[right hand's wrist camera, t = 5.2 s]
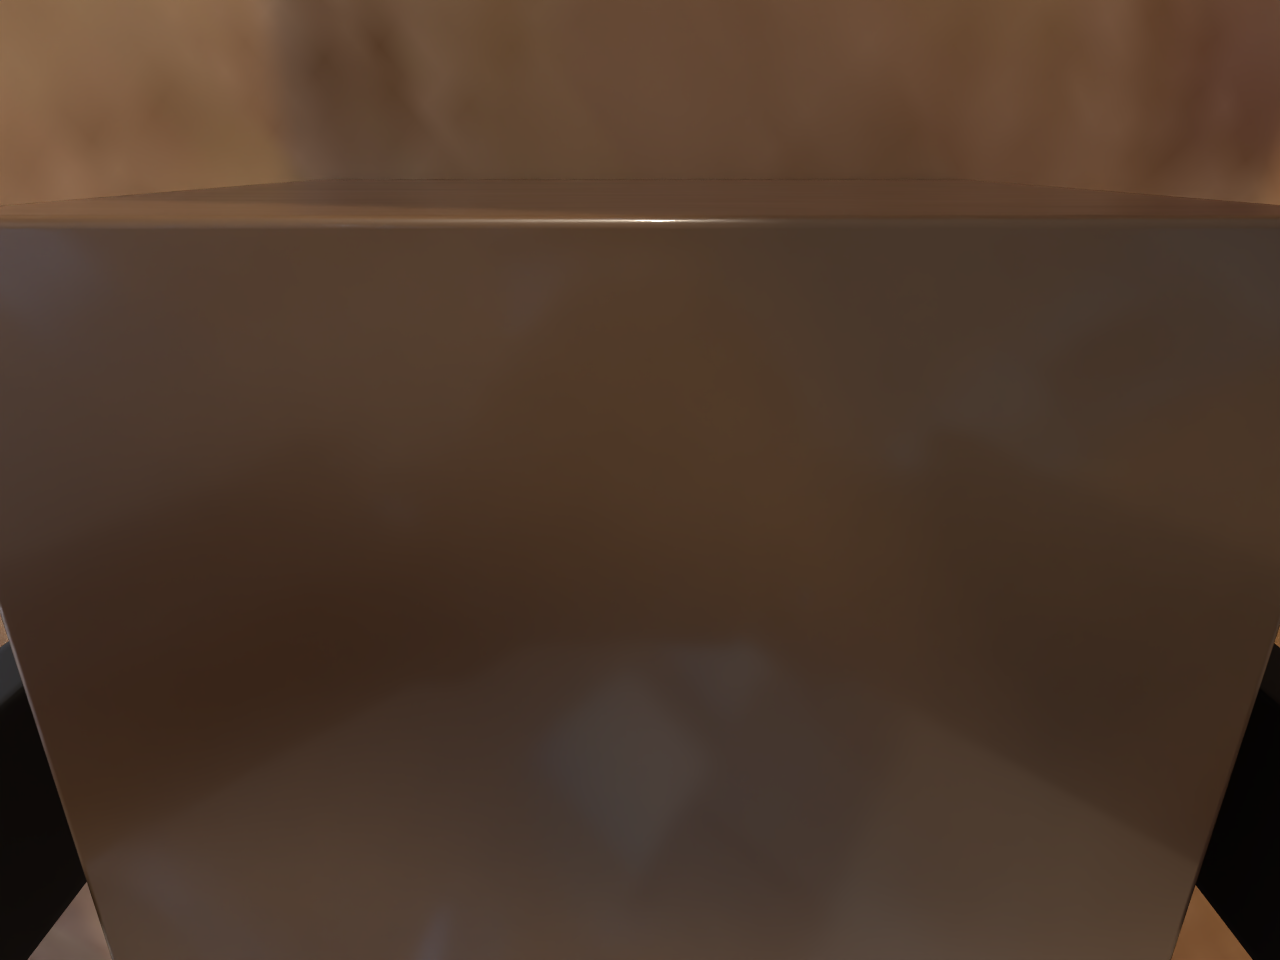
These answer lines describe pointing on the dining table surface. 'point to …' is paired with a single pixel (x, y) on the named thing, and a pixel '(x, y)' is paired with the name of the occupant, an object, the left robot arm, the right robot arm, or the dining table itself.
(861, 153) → the dining table surface
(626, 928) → the thick board
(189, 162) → the dining table surface
